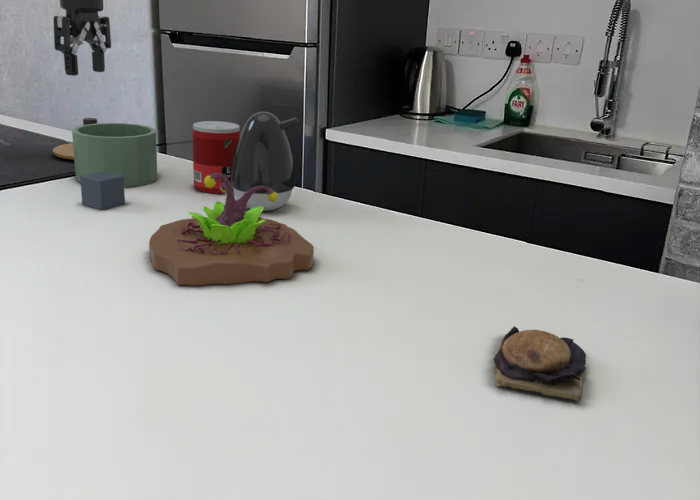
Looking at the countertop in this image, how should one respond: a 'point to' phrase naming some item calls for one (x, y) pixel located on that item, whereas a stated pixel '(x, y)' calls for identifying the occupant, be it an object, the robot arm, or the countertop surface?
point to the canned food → (213, 152)
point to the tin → (116, 151)
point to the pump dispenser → (264, 161)
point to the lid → (67, 149)
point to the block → (102, 190)
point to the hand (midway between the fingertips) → (85, 73)
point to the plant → (229, 243)
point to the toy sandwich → (540, 363)
